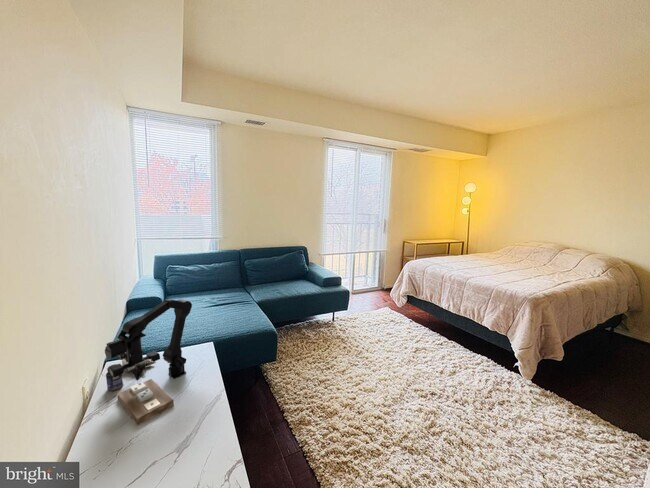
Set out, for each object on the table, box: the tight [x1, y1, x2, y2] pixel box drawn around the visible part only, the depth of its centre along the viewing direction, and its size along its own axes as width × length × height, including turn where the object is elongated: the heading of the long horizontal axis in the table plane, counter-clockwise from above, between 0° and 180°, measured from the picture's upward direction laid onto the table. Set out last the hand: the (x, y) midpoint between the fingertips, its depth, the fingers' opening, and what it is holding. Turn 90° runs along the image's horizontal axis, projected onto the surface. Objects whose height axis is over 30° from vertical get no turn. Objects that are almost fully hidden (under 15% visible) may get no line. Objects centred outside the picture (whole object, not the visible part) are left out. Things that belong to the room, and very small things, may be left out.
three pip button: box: [136, 389, 153, 403], centre depth 126 cm, size 5×5×3 cm
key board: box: [117, 378, 175, 426], centre depth 126 cm, size 14×24×3 cm, turn 52°
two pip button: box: [129, 381, 146, 395], centre depth 131 cm, size 5×5×3 cm
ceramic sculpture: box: [121, 356, 157, 374], centre depth 151 cm, size 11×9×15 cm
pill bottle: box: [105, 363, 124, 392], centre depth 136 cm, size 6×6×11 cm
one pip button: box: [143, 399, 161, 411], centre depth 121 cm, size 5×5×3 cm
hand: (137, 380), depth 130 cm, fingers closed
